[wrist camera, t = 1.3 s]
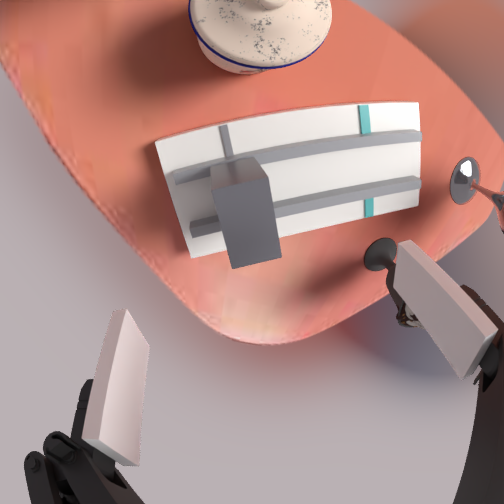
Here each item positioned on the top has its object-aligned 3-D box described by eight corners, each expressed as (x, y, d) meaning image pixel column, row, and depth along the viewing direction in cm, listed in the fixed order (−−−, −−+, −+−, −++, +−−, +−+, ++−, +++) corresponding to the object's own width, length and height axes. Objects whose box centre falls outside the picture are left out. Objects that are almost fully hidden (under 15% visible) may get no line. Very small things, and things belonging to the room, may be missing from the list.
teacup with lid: (243, 96, 23) (269, 97, 13) (173, 33, 19) (148, -8, 9) (335, 25, 20) (406, -1, 10) (271, -37, 16) (308, -96, 6)
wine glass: (457, 217, 34) (529, 275, 21) (440, 178, 30) (528, 234, 17) (486, 183, 31) (559, 230, 19) (472, 142, 28) (559, 184, 15)
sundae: (356, 240, 33) (426, 328, 20) (401, 225, 33) (479, 299, 20) (358, 282, 36) (414, 369, 24) (400, 266, 36) (462, 342, 24)
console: (158, 138, 24) (151, 145, 21) (407, 100, 25) (427, 104, 22) (192, 248, 30) (191, 266, 28) (409, 199, 31) (425, 211, 28)
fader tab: (210, 162, 24) (210, 190, 17) (251, 152, 24) (268, 176, 18) (225, 223, 27) (232, 269, 21) (263, 214, 27) (281, 257, 21)
